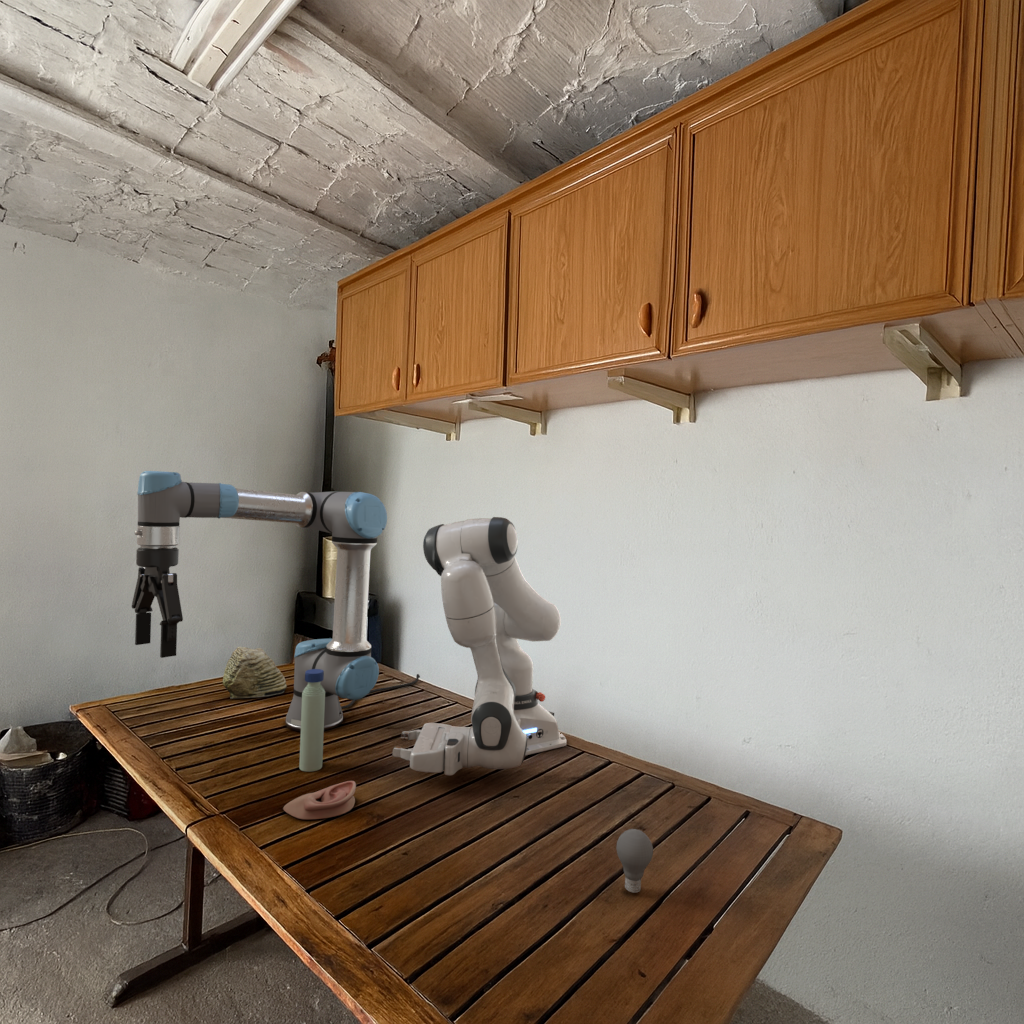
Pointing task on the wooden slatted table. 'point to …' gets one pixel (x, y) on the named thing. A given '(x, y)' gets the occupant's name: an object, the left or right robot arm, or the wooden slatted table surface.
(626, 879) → the light bulb
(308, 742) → the bottle
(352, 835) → the wooden slatted table surface
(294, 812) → the anatomical model
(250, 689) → the fossil
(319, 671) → the cap
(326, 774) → the wooden slatted table surface
